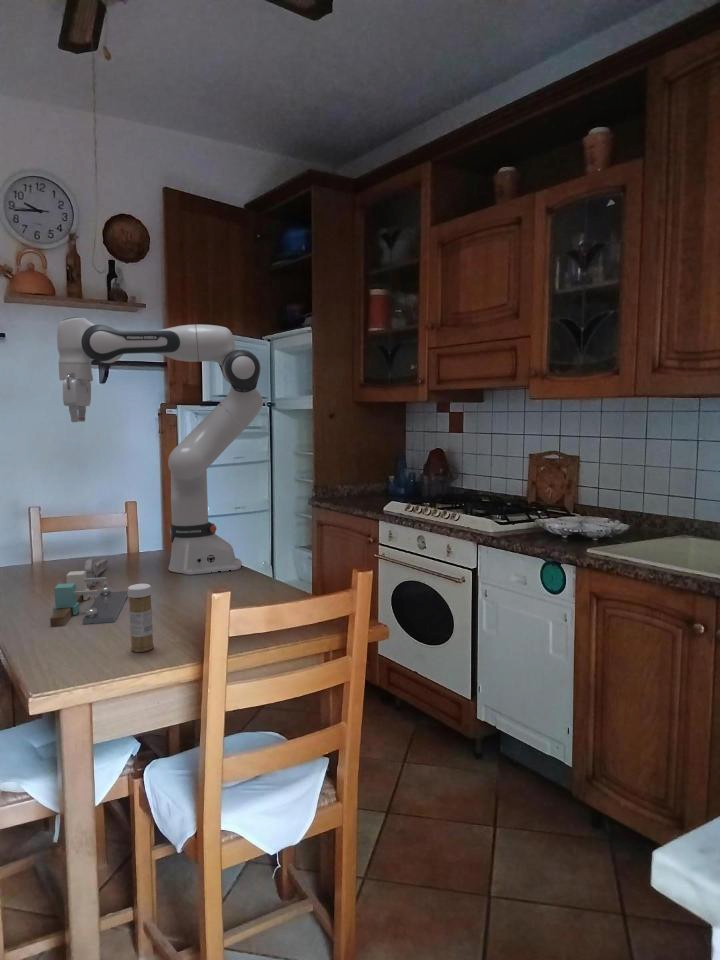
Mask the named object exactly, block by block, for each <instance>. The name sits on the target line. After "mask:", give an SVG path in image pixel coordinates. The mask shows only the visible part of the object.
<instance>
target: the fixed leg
mask: <svg viewBox="0 0 720 960" xmlns="http://www.w3.org/2000/svg"><path fill="white" fill-rule="evenodd" d="M107 580H108V578H107V577H97V578H88V577H87V571H85V570H76V571H75V570H74V571H69V572H68V573H67V574H66V584H67V583H76V591H90V588H88V586H87V585H88V583H87V582H96V583H97V582H103V587H107V585H108V582H107ZM90 597H91V594H90V595H83V601H87V600H88V599H89V598H90Z"/></svg>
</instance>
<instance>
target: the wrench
mask: <svg viewBox="0 0 720 960" xmlns="http://www.w3.org/2000/svg"><path fill="white" fill-rule="evenodd" d="M108 565H109V564H108V559H100V560H99V561H97V562H95V561H94V558H93V559H86V560H85V563H84V571H86V572H87V578H98V575H100V574H101V573H102V572H104V571H106V570H107V568H108ZM96 583H97V582H87V585H88V587H89V586H90V587H96V586H97V585H96Z"/></svg>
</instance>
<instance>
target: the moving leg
mask: <svg viewBox="0 0 720 960" xmlns="http://www.w3.org/2000/svg"><path fill="white" fill-rule="evenodd" d="M76 595H90V596H91V595H93V597H94V601H96V600H98V595H99V589H95V590H93V589H92V590H90V589H89V591H76V583H67V582H66V583H58V584H56V586H55V587H54V602H55V605H53V606H54V607H52V615H53V614H54V613H55V612H56V610H57V609H58V608H71V607H72V609H73V615H72V616H76V615H77V614H78V613H79V612H80V611H81V610H80V608H81V606H80V605H79V602H77V599H76Z"/></svg>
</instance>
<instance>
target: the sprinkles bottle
mask: <svg viewBox="0 0 720 960" xmlns="http://www.w3.org/2000/svg"><path fill="white" fill-rule="evenodd" d="M127 591H128V596H127V597H128V600H129V601H128V602H129V603H128V605H129V612H128V613H129V626H130V628H129V629H130V641H131V647H130V649H131V651H132V652H134V653H144V652H149V651H150V650H152V649H154V637H153V636H154V635H153V633H154V631H153V630H154V628H153V609H152V600H151V596H152V586H151V585H150V584H148V583H137V584H132V585H130V586H128V587H127Z"/></svg>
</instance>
